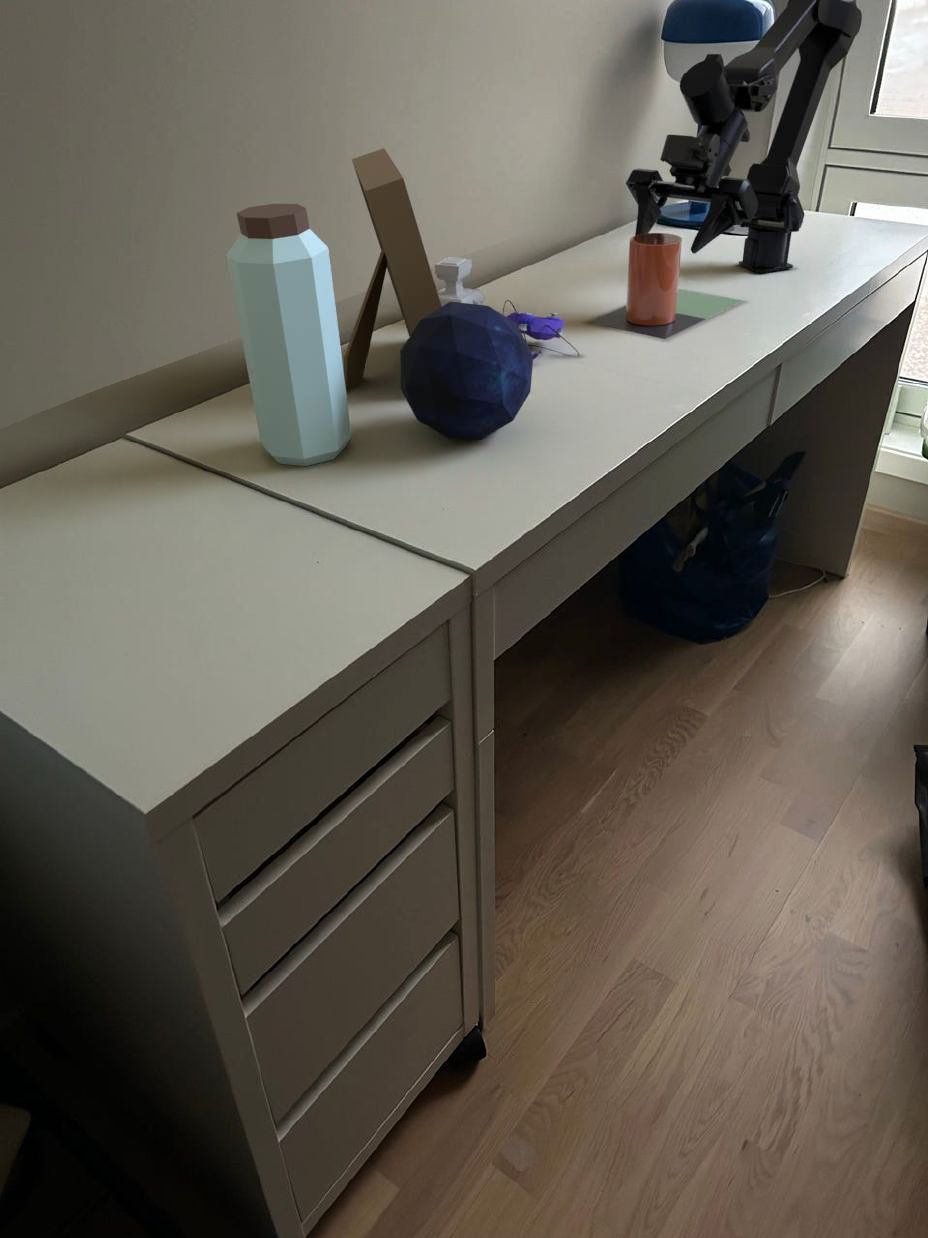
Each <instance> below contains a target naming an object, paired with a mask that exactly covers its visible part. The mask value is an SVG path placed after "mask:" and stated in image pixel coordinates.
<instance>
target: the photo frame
mask: <svg viewBox="0 0 928 1238" xmlns="http://www.w3.org/2000/svg"><path fill="white" fill-rule="evenodd" d="M351 161H352V165H353V167H354V171H355V174H356V177H357V181H358V183H359V186H360V189H361V192H362V196H363V199H364V202H365V205H366V208H367V211H368V214H369V217H370V220H371V223H372V226H373V229H374V232H375V235H376V238H377V242H378V245H379V247H380V250H381V251H380V254H379V256H378V259H377V262H376V265H375V268H374V270H373V273H372V276H371V279H370V281H369V285H368V287H367V290H366V293H365V296H364V299H363V301H362V305H361V307H360V310H359V313H358V316H357V319H356V321H355V324H354V326H353V330H352V333H351V335H350V339H349V341H348V343H347V347H346V349H345V353H344V355H343V371H344V379H345V387H346V391H348V390H349V389H350V388H352V387H353V386H355V385H356V384H358V383H360V381H363V379H364V376H365V371H366V367H367V361H368V357H369V353H370V347H371V343H372V338H373V334H374V328H375V323H376V319H377V315H378V309H379V305H380V301H381V296H382V291H383V287H384V282H385V278H386V273H387V272H388V275H389V278H390V282H391V284H392V287H393V290H394V291H393V292H394V293H395V296H396V300H397V303H398V306H399V308H400V312H401V316H402V319H403V323H404V325H405V328H406V331H407V334H408V338H409V337H410V335H411V334H412V332H413V331H414V329H415V328H416V326H417V325H418V323H419V321H420V320H421V319H423V318H424V317H426V316H427V315H429V314H431V313H432V312H434V311H436V310H437V309H439V308H441V307H442V306H441V303H440V299H439V296H438V293H437V292H438V290H437V286H436V283H435V279H434V276H433V272H432V269H431V266H430V262H429V259H428V256H427V253H426V250H425V245H424V243H423V240H422V235H421V233H420V230H419V226H418V223H417V219H416V216H415V213H414V209H413V206H412V203H411V199H410V196H409V192H408V189H407V186H406V183H405V179H404V177H403V175H402V174H401V172H400V170H399V169H398V167H397V166H396V164H395V162H394V161H393V160H392V158H391V156H390V155H389V153H388V151H387V150H386V148H385V147H383V148H380V149H377V150H374V151H372V152H368V153H366V154H362V155H360V156H357V157H354V158H352V159H351Z"/></svg>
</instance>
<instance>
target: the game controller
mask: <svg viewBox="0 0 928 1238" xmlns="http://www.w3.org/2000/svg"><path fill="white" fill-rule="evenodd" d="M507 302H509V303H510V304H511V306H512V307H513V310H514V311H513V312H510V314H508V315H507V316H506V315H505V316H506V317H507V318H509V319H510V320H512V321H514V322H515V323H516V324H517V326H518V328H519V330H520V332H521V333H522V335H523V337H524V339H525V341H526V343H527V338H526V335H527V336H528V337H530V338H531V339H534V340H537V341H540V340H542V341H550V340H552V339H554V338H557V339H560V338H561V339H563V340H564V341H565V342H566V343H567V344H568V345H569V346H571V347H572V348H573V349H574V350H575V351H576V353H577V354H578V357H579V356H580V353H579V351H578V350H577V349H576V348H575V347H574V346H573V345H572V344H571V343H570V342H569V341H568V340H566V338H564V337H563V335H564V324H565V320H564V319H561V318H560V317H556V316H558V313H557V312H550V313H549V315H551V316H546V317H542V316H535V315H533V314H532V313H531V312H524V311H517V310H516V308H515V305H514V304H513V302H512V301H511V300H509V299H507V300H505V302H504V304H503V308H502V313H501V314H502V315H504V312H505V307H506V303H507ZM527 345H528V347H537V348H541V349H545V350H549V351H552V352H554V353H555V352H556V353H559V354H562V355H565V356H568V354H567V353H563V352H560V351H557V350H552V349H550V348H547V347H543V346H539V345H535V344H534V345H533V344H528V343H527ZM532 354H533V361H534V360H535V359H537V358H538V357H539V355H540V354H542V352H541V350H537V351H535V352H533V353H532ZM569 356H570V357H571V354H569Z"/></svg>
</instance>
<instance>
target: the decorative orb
mask: <svg viewBox="0 0 928 1238" xmlns="http://www.w3.org/2000/svg"><path fill="white" fill-rule="evenodd" d="M502 314H503V313H501V312H499V311H498V310H497V309H494V308H493V307H491V306H490V305H486V304H481V305H478V304H469V303H459V302H449V303H447V304H445V305H444V306H442V307H441V308H439V309H437V310H436V311H434V312H432V313H431V314H429V315H427V316H426V317H424V318H423V319H421V320H420V321H419V323H418V325H417V326H416V328H415V329H414V331H413V332H412V334H411V335H410V337H409V336H408V339H407V340H406V341H405V343H404V345H403V346H402V348H401V349H400V351H399V352H400V353H399V388H400V390H401V393H402V394H403V397H404V398H405V400H406V402H407V404H408V407H409V408H410V410H411V412H412V413H413V415H414V417H415V419H416V421H417V422H419V423H421V424H423V425H424V426H426V427H428V428H430V430H431V429H432V430H433V431H434V432H437V433H438V434H440V435H442V436H443V437H445V438H447V439H448V440H449V439H451V440H452V439H453V440H479V441H480V440H483V439H485V438H487V437H488V436H490V435H492V434H493V433H495V432H496V431H498V430H500V429H501V428H503V427H505V426H507V425H509V424H510V423H512V422H513V421H514V420H515V419H516V417H517V415H518V413H519V412H520V410H521V409H522V407H523V405H524V403H525V402H526V400H527V398H528V397H529V395H530V393H531V389H532V387H531V386H532V376H533V366H534V360H533V354H534V353H533V352H532V350H531V348H530V346H528V345H529V344H528V343H527V342H526V341H527V340H526V341H525V338H524V334H522V333H521V332H520V330H519V328H518V326H517V324H516V323H515V322H514V321H512V320H510V319H509V318H507V317H506V315H504V314H503V315H502ZM527 344H528V345H527Z"/></svg>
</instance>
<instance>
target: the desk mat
mask: <svg viewBox="0 0 928 1238" xmlns="http://www.w3.org/2000/svg"><path fill="white" fill-rule="evenodd" d="M742 302H743V300H741V299H736V298H735V299H734V298H729V297H723V296H718V295H713V294H709V293H708V294H707V293H702V292H696V291H691V290H686V289H680V288H678V296H677V308H676V319H675V320H674V321H673V322H671V323H668V324H664V325H656V326H645V325H638V324H634V323H631V322H629V321H627V320H626V305H625V306H622V307H620V308H618V309H615V310H613V311H611V312H608V313H606V314H603V315H601V316H600V317H597V318H595V319H593V320H590V321H588V323H590V324H594V325H599V326H604V327H607V328H613V329H617V330H622V331H626V332H632V333H634V334H640V335H643V336H644V335H645V336H649V337H654V338H659V339H663V340H667V339H668V338H671V337H673V336H675V335H676V334H679V333H681V332H682V331H685V330H687V329H688V328H689V329H690V328H691V327H693V326H695V325H697V324H700V323H701V322H703V321H705V320H707V319H710V318H712V317H714V316H716V315H718V314H719V313H722V312H723V311H726V310H728V309H730V308H732V307H734V306H736V305H738V304H740V303H742Z"/></svg>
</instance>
